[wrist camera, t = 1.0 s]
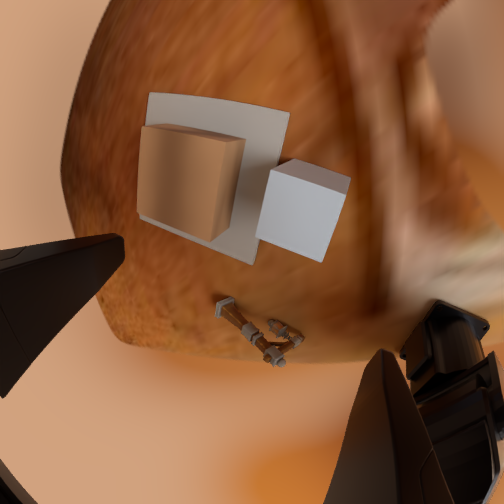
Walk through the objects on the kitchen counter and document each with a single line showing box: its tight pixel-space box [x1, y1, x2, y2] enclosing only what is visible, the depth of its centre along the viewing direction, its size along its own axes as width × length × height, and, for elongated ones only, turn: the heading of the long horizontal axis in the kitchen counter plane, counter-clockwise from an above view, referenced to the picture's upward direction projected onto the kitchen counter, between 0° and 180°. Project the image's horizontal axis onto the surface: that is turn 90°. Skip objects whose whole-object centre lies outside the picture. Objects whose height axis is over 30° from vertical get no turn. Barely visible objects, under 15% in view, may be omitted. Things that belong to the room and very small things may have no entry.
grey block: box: [255, 159, 351, 263], centre depth 16 cm, size 4×4×5 cm
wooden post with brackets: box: [215, 297, 305, 367], centre depth 24 cm, size 2×8×4 cm, turn 78°
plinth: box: [137, 123, 246, 243], centre depth 19 cm, size 7×7×3 cm
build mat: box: [140, 92, 290, 265], centre depth 21 cm, size 12×12×1 cm
